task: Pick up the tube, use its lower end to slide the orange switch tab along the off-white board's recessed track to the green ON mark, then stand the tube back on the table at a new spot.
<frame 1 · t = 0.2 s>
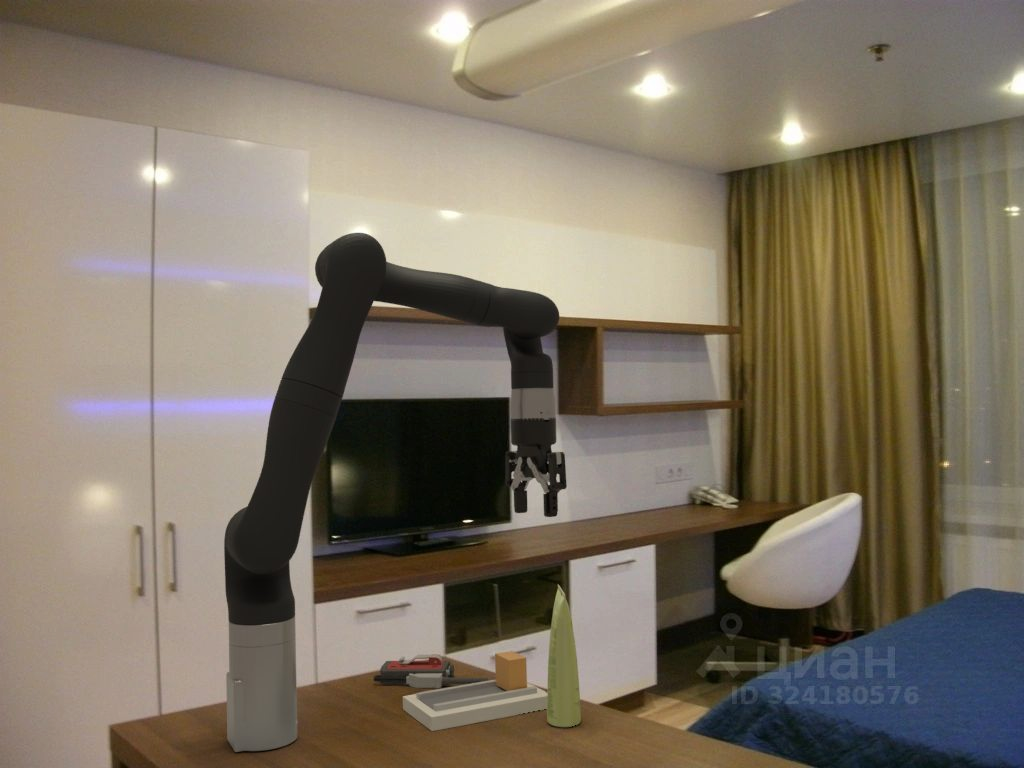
hand: (535, 514, 152), 29 cm above the table, fingers open, 8 cm apart
switch board: (477, 708, 143), on the table
walkie-talkie: (433, 684, 159), on the table
tube: (564, 724, 135), on the table
switch tab: (510, 671, 146), point 5 cm above the table, slide at 0.0 cm
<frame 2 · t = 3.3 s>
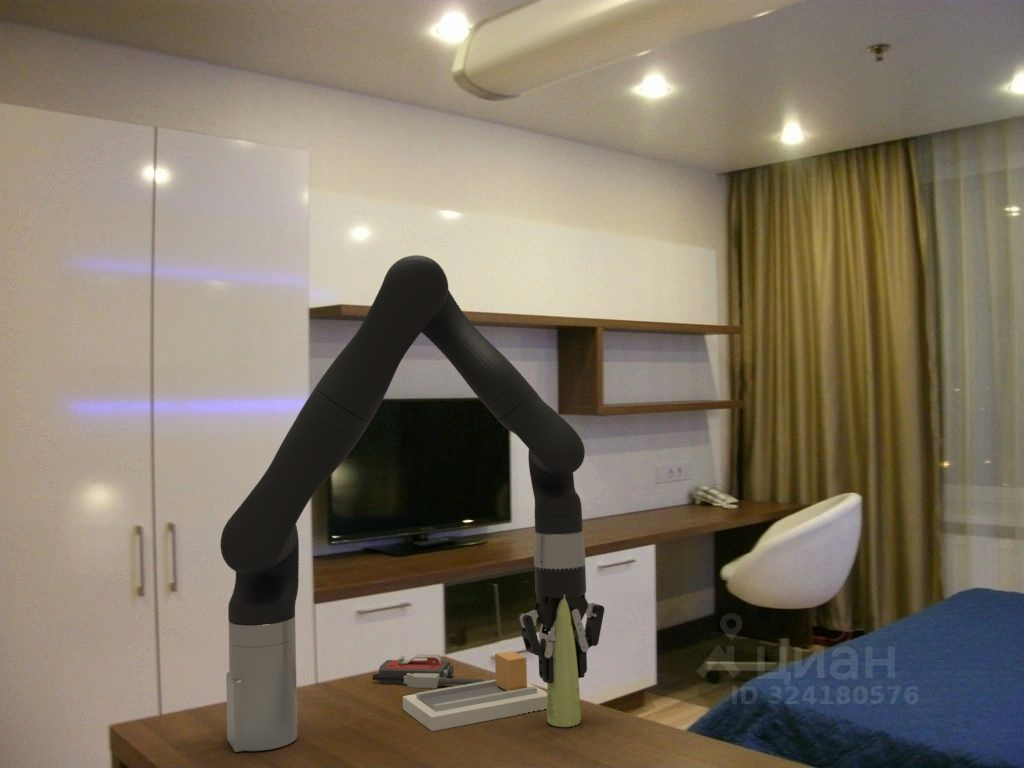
hand: (563, 678, 135), 6 cm above the table, fingers closed on tube, 4 cm apart
tube: (564, 724, 135), on the table, touching gripper
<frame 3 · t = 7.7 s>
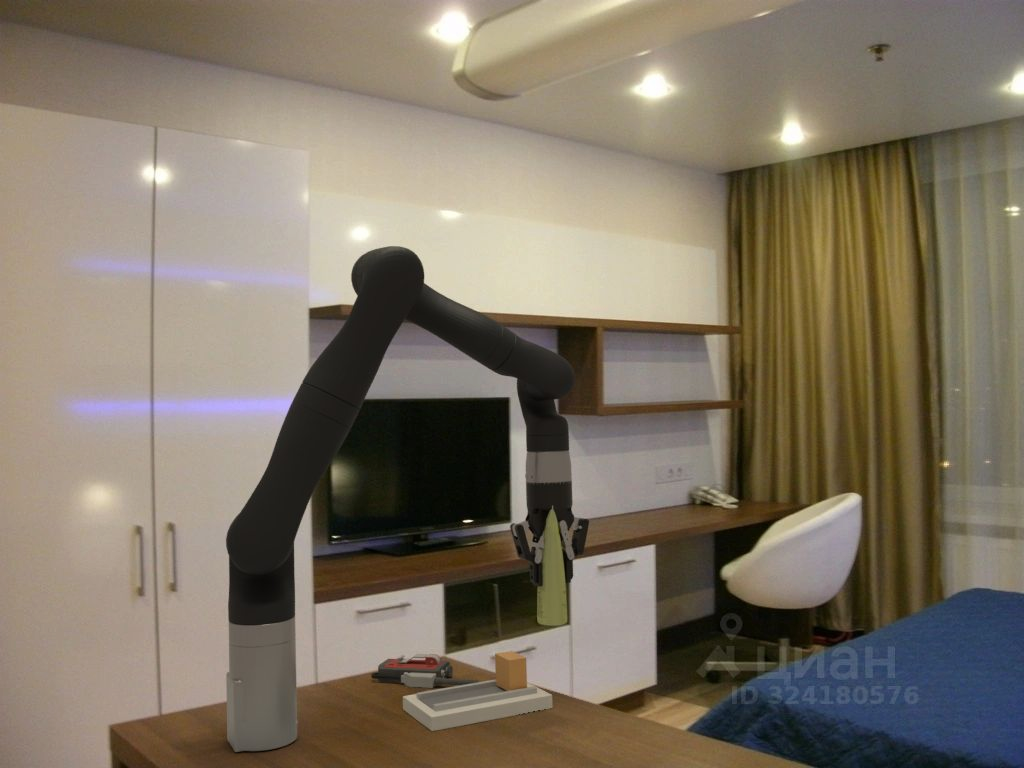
hand: (552, 583, 150), 18 cm above the table, fingers closed on tube, 4 cm apart
tube: (552, 624, 149), point 11 cm above the table, touching gripper
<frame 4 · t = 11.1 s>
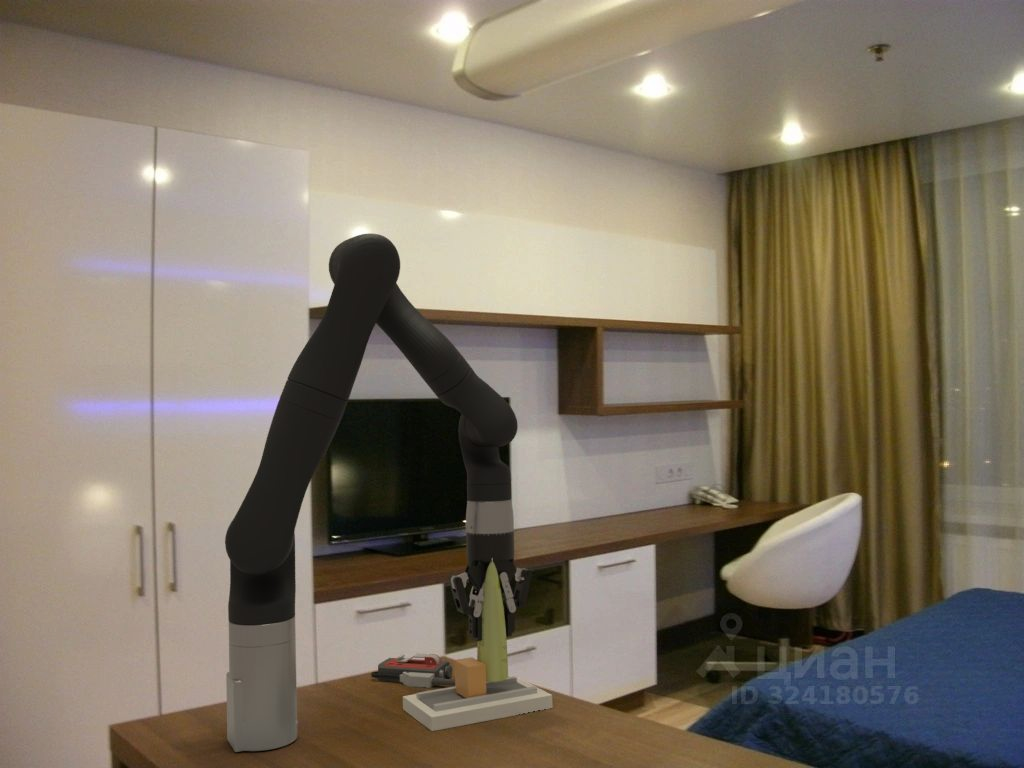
hand: (492, 637, 145), 11 cm above the table, fingers closed on tube, 4 cm apart
tube: (492, 680, 144), point 4 cm above the table, touching gripper, switch tab
switch tab: (470, 678, 142), point 5 cm above the table, slide at 7.1 cm, touching tube
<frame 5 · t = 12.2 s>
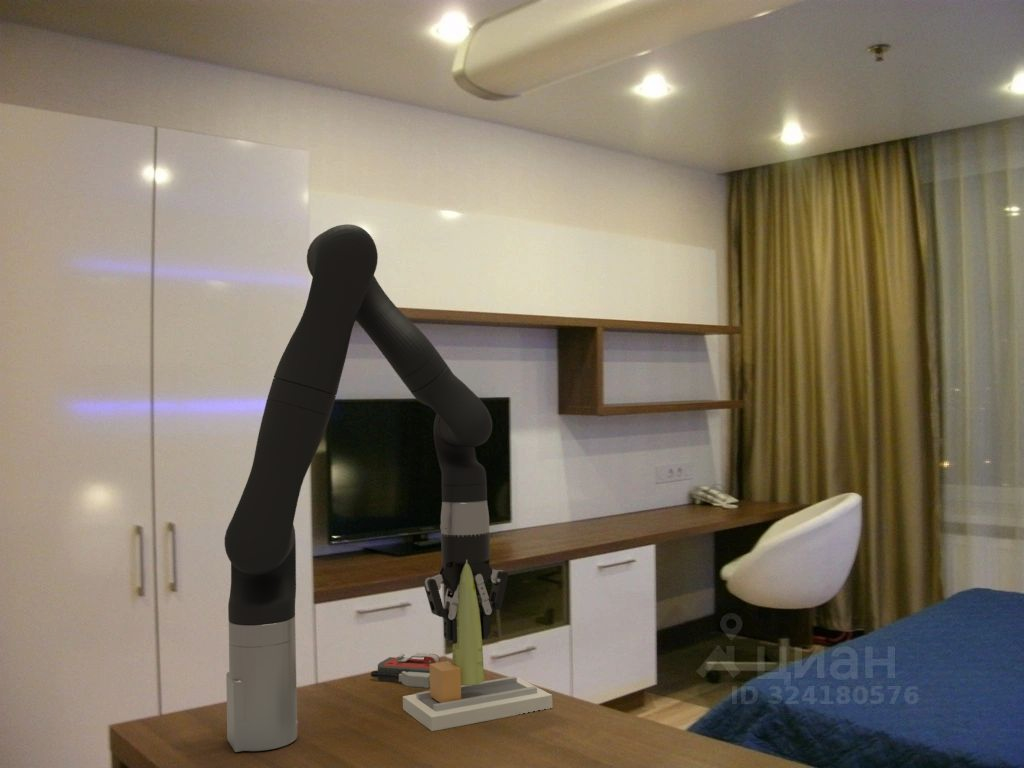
hand: (467, 640, 143), 11 cm above the table, fingers closed on tube, 4 cm apart
tube: (468, 683, 142), point 4 cm above the table, touching gripper, switch tab
switch tab: (445, 682, 140), point 5 cm above the table, slide at 11.3 cm, touching tube
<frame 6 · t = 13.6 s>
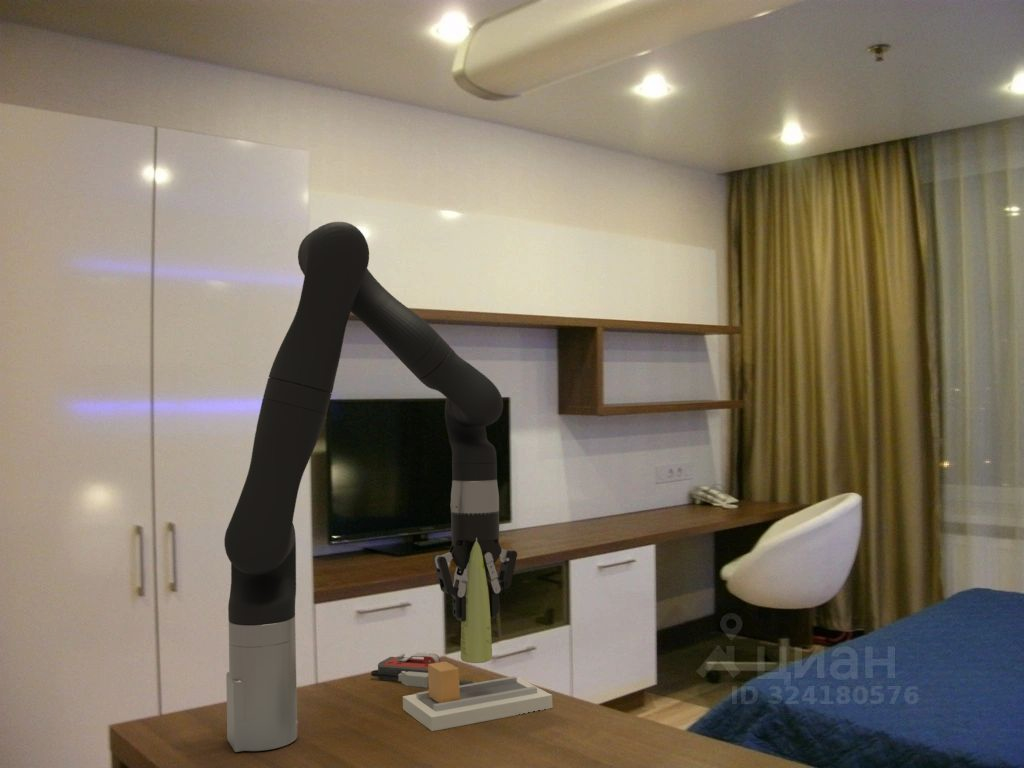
hand: (476, 618, 144), 14 cm above the table, fingers closed on tube, 4 cm apart
tube: (476, 661, 143), point 7 cm above the table, touching gripper
switch tab: (443, 682, 140), point 5 cm above the table, slide at 11.5 cm
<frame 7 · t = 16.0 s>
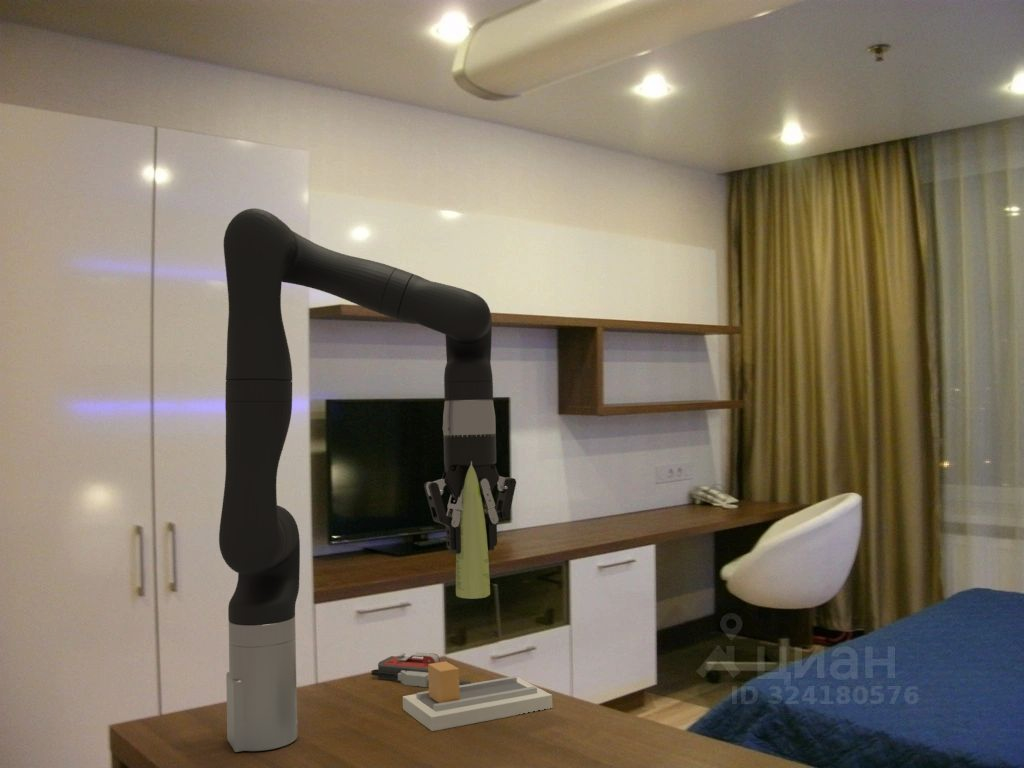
hand: (472, 550, 132), 26 cm above the table, fingers closed on tube, 4 cm apart
tube: (473, 597, 131), point 19 cm above the table, touching gripper
when the fingers open (7 cm above the table, at t = 19.7 s): tube stays where it is, on the table.
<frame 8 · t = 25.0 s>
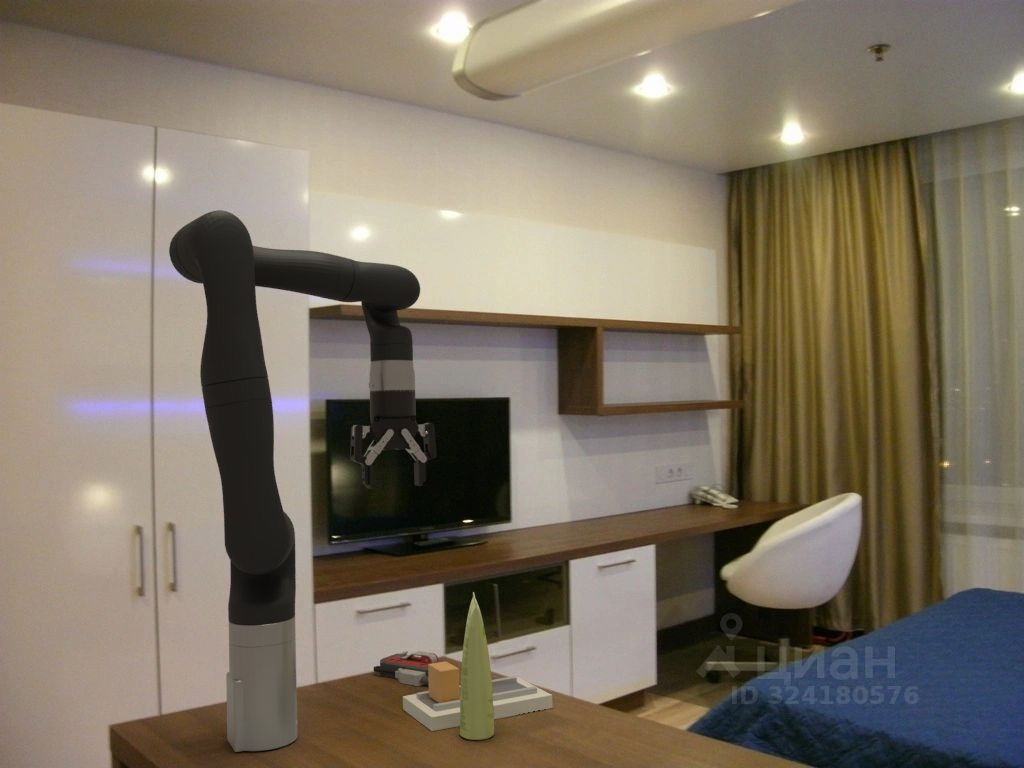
hand: (394, 486, 152), 34 cm above the table, fingers open, 8 cm apart
tube: (477, 736, 130), on the table
at the end: switch tab slide at 11.5 cm; tube inside the target area (0.1 cm from its centre), on the table; tube tilted 0° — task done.
